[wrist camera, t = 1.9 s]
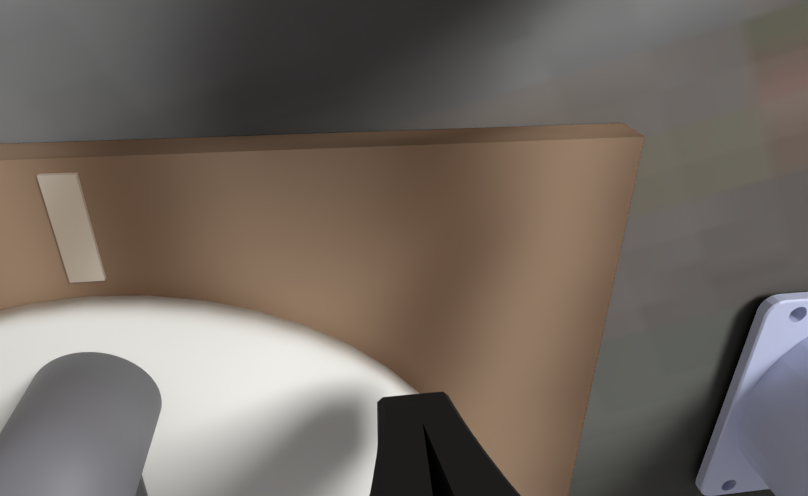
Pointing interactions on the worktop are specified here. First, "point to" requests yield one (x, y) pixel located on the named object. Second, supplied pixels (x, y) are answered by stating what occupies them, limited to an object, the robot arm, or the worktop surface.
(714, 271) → the worktop surface
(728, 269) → the worktop surface
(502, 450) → the dial board
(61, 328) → the dial
